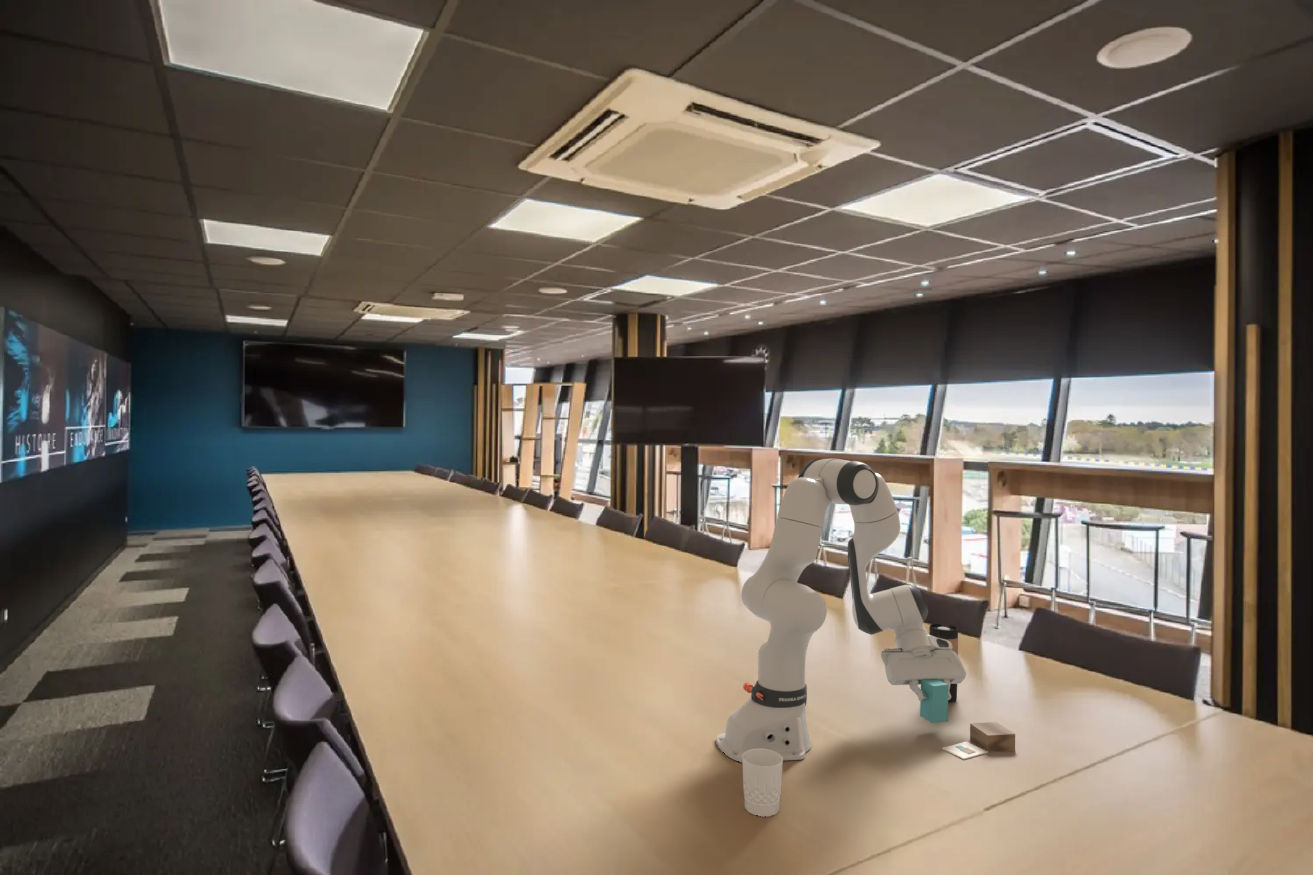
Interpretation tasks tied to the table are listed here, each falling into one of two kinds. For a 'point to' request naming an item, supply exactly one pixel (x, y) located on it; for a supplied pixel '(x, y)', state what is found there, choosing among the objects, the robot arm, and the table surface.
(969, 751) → the page
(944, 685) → the teal brick
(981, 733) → the walnut brick
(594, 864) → the table surface
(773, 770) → the white cup
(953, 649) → the travel mug
